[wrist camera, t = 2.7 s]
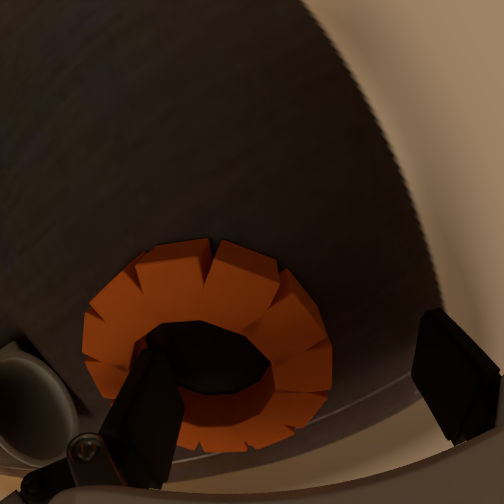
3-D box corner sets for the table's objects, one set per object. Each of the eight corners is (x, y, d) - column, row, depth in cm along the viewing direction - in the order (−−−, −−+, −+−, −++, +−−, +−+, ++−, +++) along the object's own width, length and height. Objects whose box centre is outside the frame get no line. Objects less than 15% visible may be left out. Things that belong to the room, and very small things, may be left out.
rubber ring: (144, 419, 13) (134, 447, 11) (77, 257, 10) (48, 276, 8) (322, 411, 12) (329, 442, 11) (315, 223, 10) (328, 239, 8)
